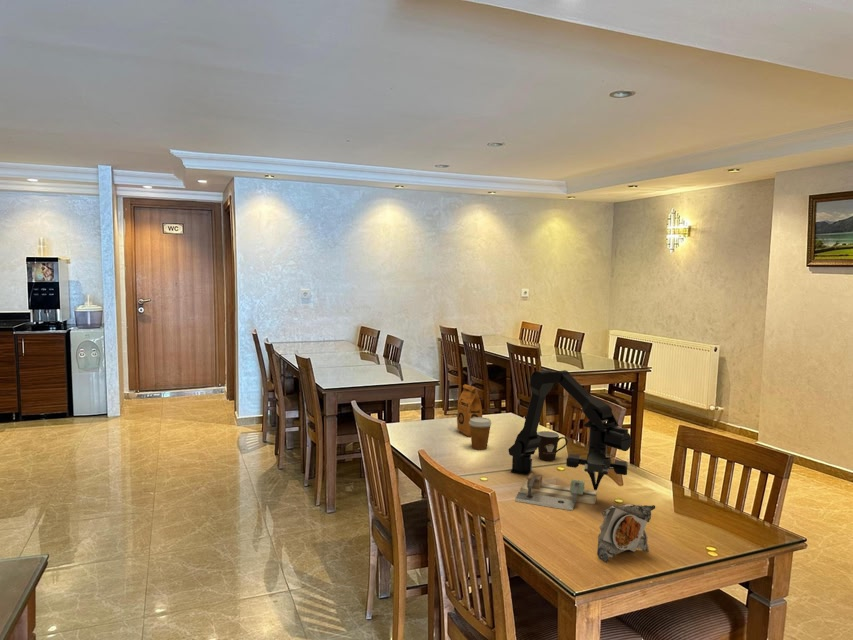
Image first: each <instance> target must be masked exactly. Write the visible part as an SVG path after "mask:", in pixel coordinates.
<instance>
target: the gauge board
mask: <svg viewBox="0 0 853 640" xmlns="http://www.w3.org/2000/svg"><path fill="white" fill-rule="evenodd" d="M519 489H520V490H519V492H525V493H528V495H529V496H531V494H537V495H543V496H549V497H555V498H562V499H568V500H572V498H573V495H572V493H570V486H564V485H559V484H552V483H545V482H543V474H538V473H533V472H529V474H528V476H527V480H526V479H525V480H524V481H523V483H522V485H521V486H520V487H519ZM597 495H598V490H589V489H585V488H584V492H583V495H581V494H576V502H577V503H583V504H588V505H596V501H597V497H598V496H597Z"/></svg>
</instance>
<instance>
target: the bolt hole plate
mask: <svg viewBox="0 0 853 640" xmlns="http://www.w3.org/2000/svg"><path fill="white" fill-rule="evenodd" d="M514 499H515V500H514V501H515V502H517V503H518V502H519V503H523V504H530V505H536V506H543V507H547V508H548V507H549V508H555V509H559V510H564V511H565V510H566V511H571V512H572V511H573V510H574V507H575V505H576V503H573V502H572V500H568V499H562V498H555V497H549V496H543V495H537V494H531V496H529V495H528V493H525V492H520V491H518V493H517V494H516V496H515V498H514Z"/></svg>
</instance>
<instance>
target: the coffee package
mask: <svg viewBox="0 0 853 640" xmlns="http://www.w3.org/2000/svg"><path fill="white" fill-rule="evenodd" d="M462 389H463V390H462V392H461V394H460V395H459V398H458V399H457V417H456V424H457V425H456V426H457V427H456V429H457V430H458V431H459V432H461V434H464V435H465V436H467V437H468V438H471V432H470V424H469V421H470V419H471V418H474V417H483V407H482V401H481V399H480V396H479V393H478V390H477V388H476V387H474V386H473V385H468V384H466V383H465V384H463V385H462Z"/></svg>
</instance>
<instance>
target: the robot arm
mask: <svg viewBox="0 0 853 640" xmlns="http://www.w3.org/2000/svg"><path fill="white" fill-rule="evenodd" d="M555 383H557V384H559V385H560V387H562V388H563V389H564V390H565V391H566V392H567V394H568V395H570V396H571V397H572V398H573V399H574V400H575V401H576V402H577V403H578V404H579V405H580V407H581V408H582V412H583V414H584V415H585V417H586V418H587V419H588V421H587V422H585V424H583V426H584V428H588V430H589V433H588V450H587V451H588V452H587V456H586V458H581V455H580V454H574V453H570V454H568V455H567V457H566V465H565V466H566V467H568V468H578V467H579V465H582V466H584V469H583V470H584V472H586V473H588V475H589V477H590V480H591V484H592V487H593V491H598V488H599V485H600V484H601V481H602V479H603V477H604V476H605V475H606V476H607V475H609V470H613V471H614V473H615V474H616V475H622V476H627V475H628V466H629V465H628V462H627V461H626V460H618V459H615V460H614V462H611V457H608V456H607V455H608V453H607V452H608V447H609V448H612V449H615V450H619V451H621V452H627V451H628V450H629V449H630V448H631V445H632V442H633V441H632V436H631V434H630V432H629V429H628V428H625V427H619V423H618V421H617V420H616V418H615V416H614V414H613V412H612V411H613V410H612V409H613V408H612V406H610V405H609V404H608V403H606V402H604V401H603V400H602V399H599V398H596V397H595V396H593V395H591V393H590V392H588V391H587V390H586V388H584V386H582V385H581V383H579V382H578V381H577V380H576V379H575V378H574V377H573V376H572V375H571V374H570V372H569V371H567V370H558V371H552V370H549V369H545V370H535V371H533V372H532V373H531V375H530V380H529V388H530V390H531V396H530V400H529V403H528V408H527V412H526V416H525V421H524V425H523V427H522V429H521V430H520V431H519V433H518V434H517V435H516V438H515V440H514V443H513V445H511V447H509V448H508V449H507V451H508V453H509V456H512V458H511V459H512V462H511V469H510V473H515V474H521V475H530V473H531V472H532V470H533V459H532V458H531V457H532V455H534V454H535V453H536V450H537V451H538V447H539V443H540V440H541V437H539V436H538V434H537V432H538V427H539V423H540V420H541V416H542V412H543V409H544V404H545V400H546V397H547V395H548V394H549V392H551V390H552V389H553V386H554V385H555ZM604 422H605V423H604ZM596 473H597V475H596ZM596 476H597V477H596Z"/></svg>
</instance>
